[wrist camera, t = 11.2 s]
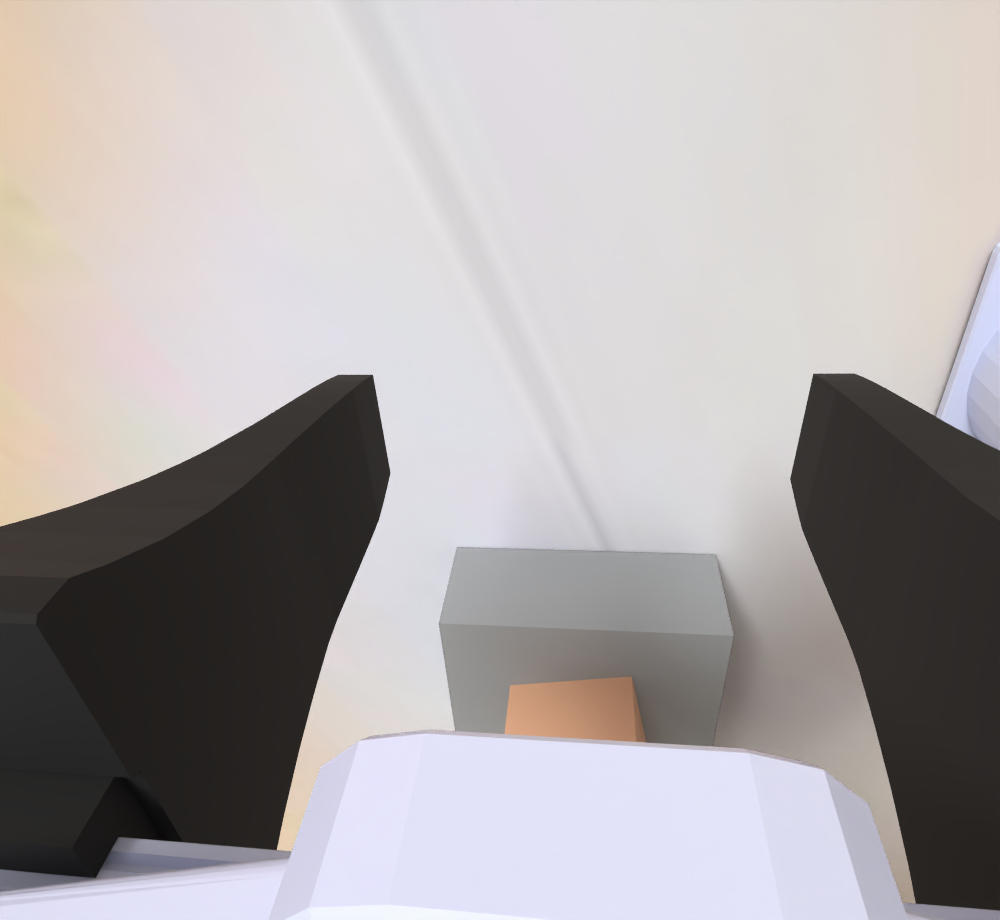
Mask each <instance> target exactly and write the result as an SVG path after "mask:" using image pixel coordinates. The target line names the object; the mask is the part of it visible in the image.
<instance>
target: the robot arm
mask: <svg viewBox="0 0 1000 920" xmlns="http://www.w3.org/2000/svg"><path fill="white" fill-rule="evenodd" d="M389 477H390V468H389V463H388V457H387V452H386V446H385V440H384V435H383V429H382V424H381V418H380V412H379V407H378V401H377V396H376V390H375V384H374V379H373V375H337V376H335V377H333V378H330V379H328V380H327V381H325V382H323V383H321V384H319V385H318V386H316V387H314V388H312V389H311V390H309V391H307V392H306V393H304V394H302V395H301V396H299V397H298V398H296V399H294V400H293V401H291V402H289V403H288V404H286V405H285V406H283V407H281V408H280V409H278V410H276V411H275V412H273V413H272V414H270V415H268V416H267V417H265V418H263V419H262V420H260V421H258V422H257V423H255V424H253V425H252V426H250V427H248V428H246V429H244V430H243V431H241V432H239V433H237V434H235V435H234V436H232V437H230V438H228V439H227V440H225V441H223V442H221V443H219V444H218V445H216V446H214V447H212V448H210V449H209V450H207V451H205V452H203V453H201V454H199V455H197V456H195V457H193V458H191V459H189V460H187V461H185V462H182V463H180V464H178V465H176V466H174V467H171V468H169V469H167V470H165V471H162V472H160V473H158V474H156V475H153V476H151V477H149V478H146V479H144V480H142V481H139V482H136V483H134V484H131V485H128V486H126V487H123V488H120V489H117V490H115V491H112V492H109V493H107V494H104V495H101V496H98V497H96V498H93V499H90V500H87V501H85V502H82V503H79V504H76V505H73V506H70V507H67V508H63V509H60V510H57V511H54V512H50V513H47V514H44V515H41V516H37V517H34V518H30V519H26V520H23V521H19V522H16V523H12V524H8V525H5V526H1V527H0V920H1000V242H999V243H998V244H997V245H996V246H995V248H994V250H993V252H992V254H991V257H990V260H989V263H988V266H987V269H986V272H985V275H984V278H983V281H982V283H981V286H980V289H979V292H978V295H977V298H976V301H975V304H974V307H973V310H972V313H971V316H970V318H969V321H968V324H967V327H966V330H965V333H964V336H963V339H962V342H961V345H960V348H959V351H958V354H957V356H956V359H955V362H954V365H953V368H952V371H951V374H950V377H949V380H948V383H947V386H946V389H945V391H944V394H943V397H942V400H941V403H940V406H939V409H938V412H937V415H936V417H935V416H934V415H932V414H930V413H928V412H926V411H925V410H923V409H921V408H919V407H918V406H916V405H914V404H912V403H911V402H909V401H907V400H905V399H904V398H902V397H900V396H898V395H896V394H895V393H893V392H891V391H889V390H887V389H886V388H884V387H882V386H880V385H878V384H876V383H874V382H872V381H870V380H868V379H866V378H864V377H861V376H859V375H856V374H813V378H812V383H811V387H810V392H809V396H808V401H807V406H806V410H805V415H804V419H803V424H802V428H801V433H800V437H799V442H798V447H797V451H796V456H795V460H794V465H793V469H792V474H791V479H790V480H791V484H792V489H793V493H794V498H795V502H796V507H797V511H798V515H799V518H800V522H801V526H802V530H803V532H804V535H805V537H806V540H807V542H808V545H809V547H810V550H811V552H812V555H813V557H814V560H815V562H816V564H817V567H818V569H819V572H820V574H821V576H822V579H823V581H824V584H825V586H826V588H827V591H828V593H829V595H830V598H831V600H832V603H833V605H834V607H835V610H836V612H837V614H838V617H839V619H840V621H841V624H842V626H843V629H844V631H845V633H846V636H847V638H848V640H849V643H850V646H851V649H852V651H853V654H854V657H855V660H856V662H857V665H858V668H859V671H860V675H861V678H862V682H863V685H864V689H865V692H866V696H867V699H868V703H869V706H870V710H871V714H872V717H873V721H874V724H875V728H876V732H877V736H878V740H879V743H880V747H881V751H882V755H883V759H884V763H885V767H886V771H887V775H888V778H889V782H890V786H891V790H892V795H893V799H894V804H895V808H896V812H897V817H898V821H899V826H900V830H901V834H902V839H903V843H904V848H905V852H906V856H907V861H908V865H909V870H910V876H911V881H912V886H913V891H914V896H915V901H916V904H914V903H902V900H901V897H900V894H899V891H898V888H897V885H896V883H895V880H894V877H893V874H892V871H891V868H890V865H889V862H888V859H887V856H886V853H885V850H884V847H883V845H882V842H881V839H880V836H879V833H878V830H877V827H876V824H875V821H874V818H873V815H872V812H871V810H870V807H869V804H868V803H867V802H865V801H864V800H863V799H861V798H860V797H859V796H857V795H856V794H855V793H854V792H852V791H851V790H850V789H848V788H847V787H846V786H844V785H843V784H842V783H840V782H839V781H838V780H836V779H835V778H834V777H833V776H831V775H830V774H829V773H827V772H826V771H825V770H823V769H821V768H819V767H817V766H815V765H813V764H810V763H807V762H803V761H798V760H794V759H789V758H785V757H780V756H776V755H771V754H767V753H762V752H758V751H753V750H749V749H744V748H728V747H711V746H695V745H678V744H661V743H645V742H628V741H611V740H595V739H578V738H561V737H545V736H528V735H511V734H495V733H478V732H462V731H445V730H421V731H412V732H403V733H394V734H385V735H376V736H370V737H368V738H365V739H362V740H360V741H358V742H357V743H355V744H354V745H352V746H351V747H349V748H348V749H346V750H345V751H343V752H342V753H340V754H339V755H337V756H336V757H335V758H333V759H332V760H330V761H329V762H327V763H326V764H324V765H323V766H321V768H320V771H319V774H318V777H317V779H316V782H315V785H314V788H313V791H312V794H311V797H310V800H309V803H308V806H307V808H306V811H305V814H304V817H303V820H302V823H301V826H300V829H299V832H298V835H297V838H296V840H295V843H294V846H293V849H292V851H280V850H277V846H278V841H279V836H280V831H281V826H282V822H283V817H284V812H285V808H286V804H287V799H288V795H289V791H290V787H291V782H292V778H293V774H294V770H295V765H296V761H297V757H298V753H299V748H300V745H301V741H302V737H303V733H304V729H305V726H306V722H307V718H308V714H309V710H310V707H311V703H312V699H313V695H314V692H315V688H316V685H317V681H318V678H319V674H320V671H321V667H322V664H323V661H324V657H325V654H326V650H327V647H328V644H329V641H330V638H331V635H332V632H333V630H334V627H335V624H336V621H337V619H338V617H339V614H340V612H341V609H342V607H343V605H344V602H345V600H346V598H347V595H348V593H349V590H350V588H351V586H352V583H353V581H354V579H355V576H356V574H357V572H358V569H359V567H360V564H361V562H362V560H363V557H364V555H365V553H366V550H367V548H368V545H369V543H370V540H371V538H372V536H373V533H374V531H375V528H376V526H377V523H378V520H379V517H380V513H381V510H382V506H383V502H384V498H385V494H386V490H387V485H388V481H389Z"/></svg>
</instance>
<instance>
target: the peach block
mask: <svg viewBox="0 0 1000 920" xmlns="http://www.w3.org/2000/svg"><path fill="white" fill-rule="evenodd" d="M505 734H511V735H528V736H545V737H561V738H578V739H595V740H611V741H628V742H645V743H646V738H645V734H644V729H643V725H642V720H641V716H640V711H639V706H638V702H637V697H636V693H635V688H634V684H633V679H632V676H631V677H617V678H604V679H590V680H576V681H562V682H549V683H535V684H521V685H510V690H509V699H508V708H507V717H506V725H505Z"/></svg>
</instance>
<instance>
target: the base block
mask: <svg viewBox="0 0 1000 920" xmlns="http://www.w3.org/2000/svg"><path fill="white" fill-rule="evenodd" d="M439 628H440V634H441V641H442V647H443V654H444V660H445V667H446V673H447V680H448V687H449V693H450V700H451V706H452V713H453V719H454V726H455V731H462V732H478V733H495V734H505V725H506V717H507V708H508V699H509V690H510V685H521V684H535V683H549V682H562V681H576V680H590V679H604V678H617V677H631V676H632V679H633V684H634V688H635V693H636V697H637V702H638V706H639V711H640V716H641V720H642V725H643V729H644V734H645V738H646V743H661V744H678V745H695V746H711V747H712V746H713V741H714V736H715V731H716V725H717V720H718V715H719V710H720V705H721V700H722V694H723V689H724V684H725V679H726V674H727V668H728V663H729V658H730V653H731V648H732V642H733V637H734V634H733V630H732V625H731V621H730V616H729V612H728V607H727V603H726V598H725V594H724V589H723V585H722V580H721V576H720V571H719V567H718V562H717V558H716V555H706V554H671V553H636V552H601V551H567V550H532V549H497V548H462V547H457V549H456V553H455V557H454V562H453V566H452V570H451V574H450V578H449V583H448V587H447V591H446V595H445V599H444V604H443V608H442V612H441V616H440V620H439Z"/></svg>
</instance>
